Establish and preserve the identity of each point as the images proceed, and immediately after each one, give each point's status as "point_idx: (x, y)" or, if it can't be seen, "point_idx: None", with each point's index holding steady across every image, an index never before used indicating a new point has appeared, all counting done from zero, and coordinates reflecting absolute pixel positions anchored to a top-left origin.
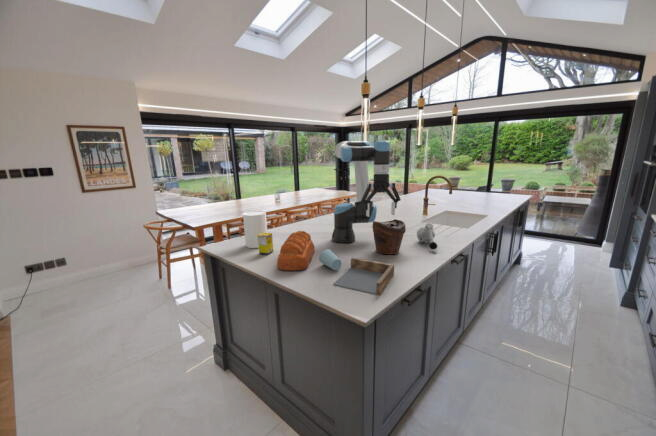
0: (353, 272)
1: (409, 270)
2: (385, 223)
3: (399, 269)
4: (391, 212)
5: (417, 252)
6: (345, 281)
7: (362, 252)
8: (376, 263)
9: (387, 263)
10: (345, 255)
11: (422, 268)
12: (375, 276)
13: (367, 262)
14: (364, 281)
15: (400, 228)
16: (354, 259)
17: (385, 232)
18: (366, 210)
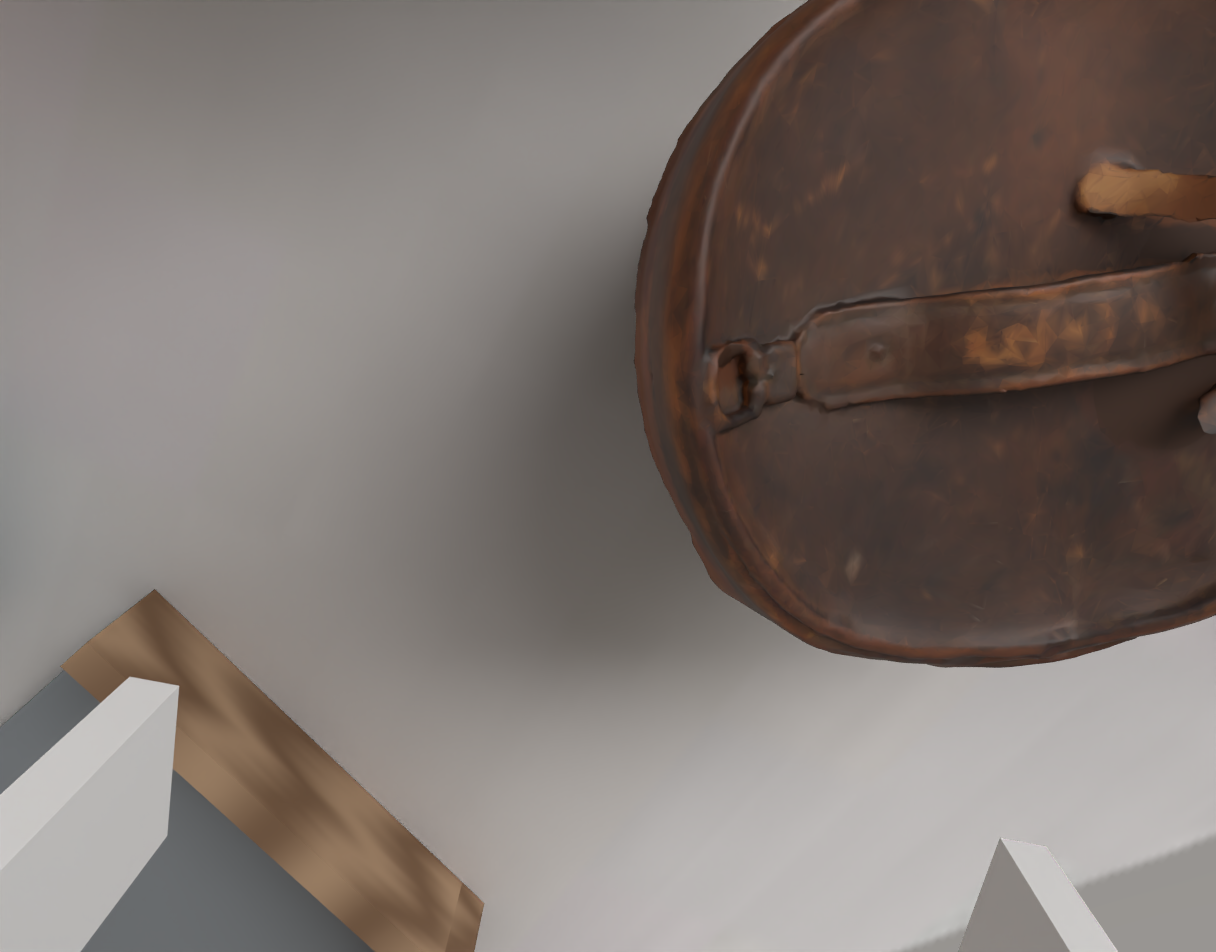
0: None
1: (689, 882)
2: (983, 317)
3: (613, 828)
4: (1021, 889)
5: None
6: None
7: (489, 181)
8: (307, 884)
9: (413, 943)
10: (205, 189)
11: (842, 896)
12: (289, 884)
13: (232, 807)
14: (148, 923)
15: (1092, 646)
16: (101, 699)
17: (727, 592)
18: (8, 812)
